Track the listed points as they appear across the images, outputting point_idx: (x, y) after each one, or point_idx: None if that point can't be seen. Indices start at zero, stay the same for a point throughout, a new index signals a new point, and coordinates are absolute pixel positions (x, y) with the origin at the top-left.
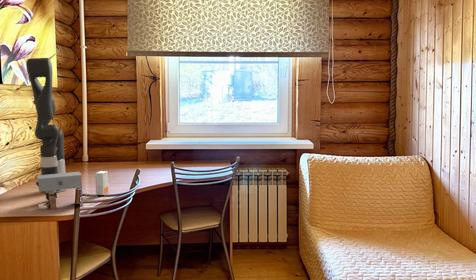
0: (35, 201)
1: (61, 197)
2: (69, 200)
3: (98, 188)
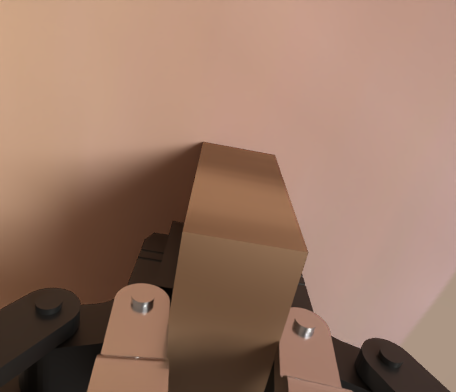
0: (14, 56)
1: (424, 62)
2: (415, 300)
3: None
